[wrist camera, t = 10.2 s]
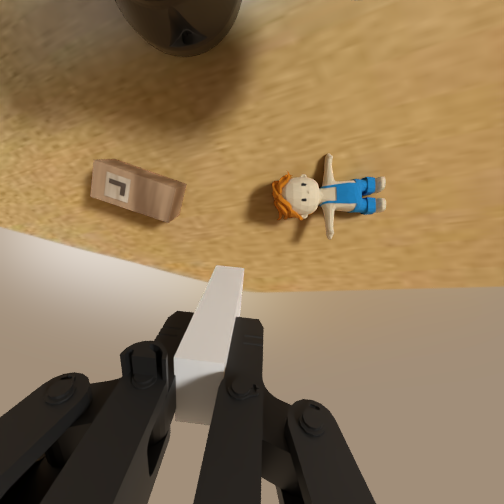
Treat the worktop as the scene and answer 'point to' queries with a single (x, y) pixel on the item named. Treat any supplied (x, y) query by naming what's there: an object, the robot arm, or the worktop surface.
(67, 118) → the worktop surface
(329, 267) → the worktop surface
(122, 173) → the block
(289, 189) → the toy
